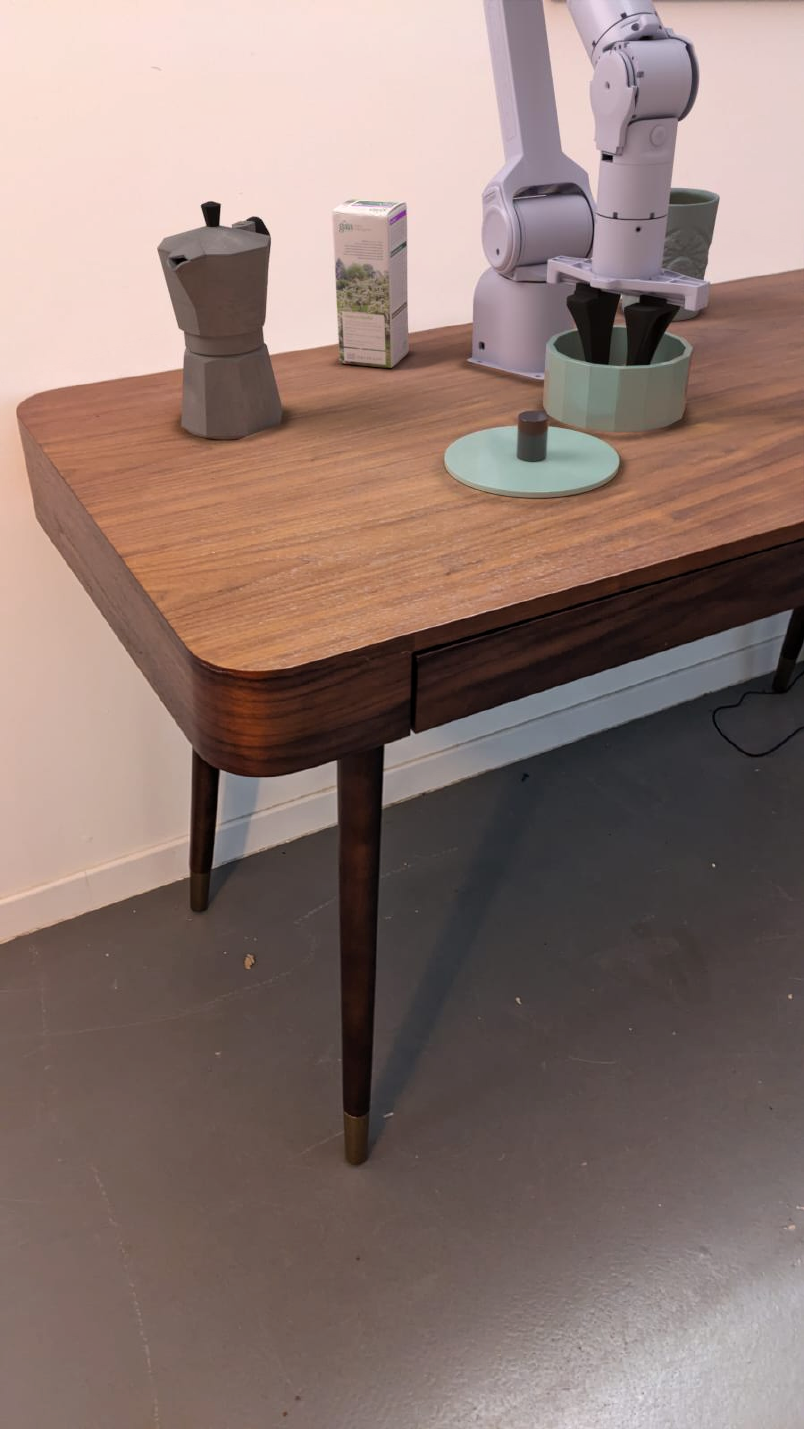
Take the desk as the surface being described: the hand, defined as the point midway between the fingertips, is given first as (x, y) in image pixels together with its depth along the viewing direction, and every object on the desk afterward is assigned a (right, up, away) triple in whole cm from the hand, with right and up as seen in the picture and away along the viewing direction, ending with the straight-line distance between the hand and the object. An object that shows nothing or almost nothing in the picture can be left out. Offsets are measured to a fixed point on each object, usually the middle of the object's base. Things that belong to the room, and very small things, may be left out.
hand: (615, 380), depth 98 cm
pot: (0, -2, +2) cm, 3 cm away
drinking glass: (+10, +16, +28) cm, 34 cm away
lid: (-8, -9, -9) cm, 15 cm away
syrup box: (-21, +7, +15) cm, 27 cm away
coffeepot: (-33, -3, +2) cm, 33 cm away
